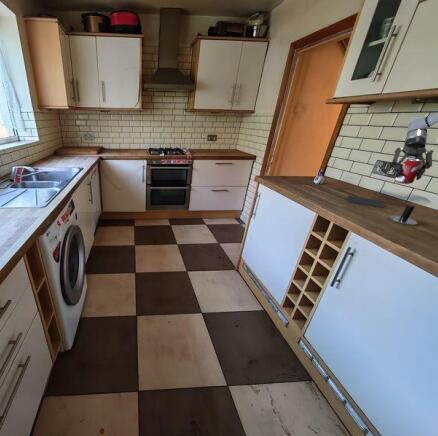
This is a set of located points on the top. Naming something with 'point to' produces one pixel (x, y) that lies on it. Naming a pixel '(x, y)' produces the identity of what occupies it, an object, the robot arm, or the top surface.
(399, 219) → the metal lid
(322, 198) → the top surface
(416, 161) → the soda can
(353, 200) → the slate mat
